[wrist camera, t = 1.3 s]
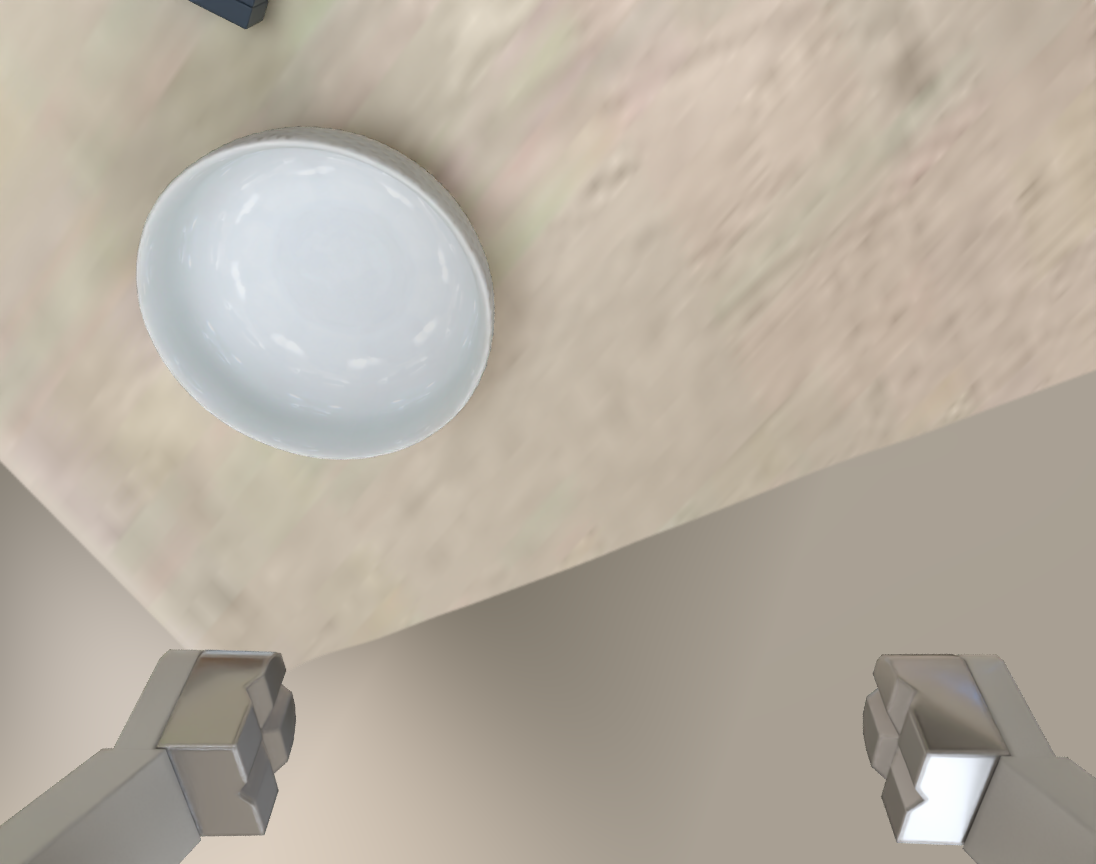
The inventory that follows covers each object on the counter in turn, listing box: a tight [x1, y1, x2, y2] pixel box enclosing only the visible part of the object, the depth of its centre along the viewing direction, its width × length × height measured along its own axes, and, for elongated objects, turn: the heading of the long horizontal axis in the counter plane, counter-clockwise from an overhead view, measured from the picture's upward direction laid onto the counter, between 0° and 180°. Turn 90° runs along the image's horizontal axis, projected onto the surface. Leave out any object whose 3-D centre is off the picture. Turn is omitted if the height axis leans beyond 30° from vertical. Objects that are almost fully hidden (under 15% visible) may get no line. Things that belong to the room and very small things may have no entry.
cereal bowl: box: [136, 126, 495, 460], centre depth 45 cm, size 17×17×7 cm
